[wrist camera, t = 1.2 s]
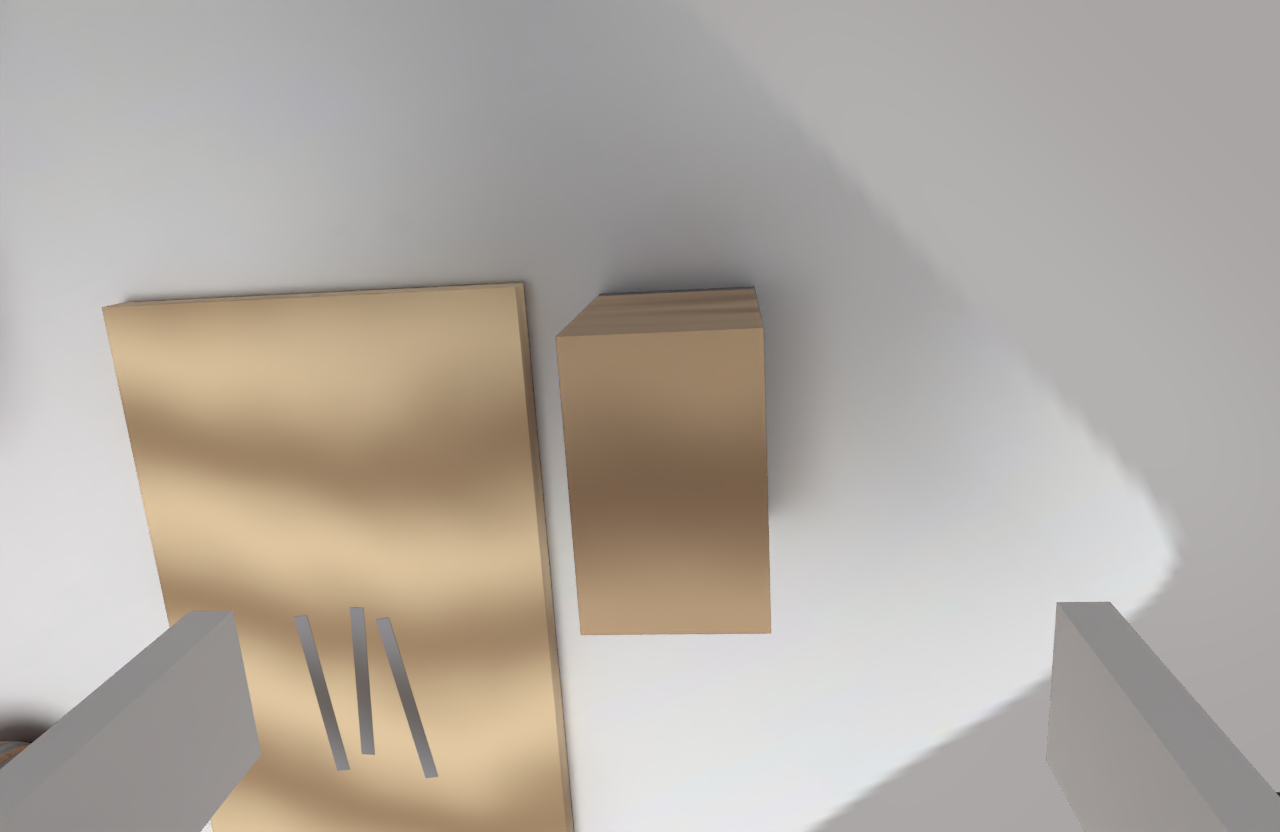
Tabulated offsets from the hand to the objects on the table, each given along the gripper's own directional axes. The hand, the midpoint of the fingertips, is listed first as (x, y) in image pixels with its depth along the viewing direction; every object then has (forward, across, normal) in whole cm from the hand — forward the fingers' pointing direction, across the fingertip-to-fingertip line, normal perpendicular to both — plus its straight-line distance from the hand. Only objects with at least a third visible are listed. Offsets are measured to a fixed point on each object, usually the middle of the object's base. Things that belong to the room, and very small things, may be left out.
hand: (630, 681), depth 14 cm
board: (+16, -12, -7) cm, 21 cm away
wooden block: (+17, 0, 0) cm, 17 cm away
